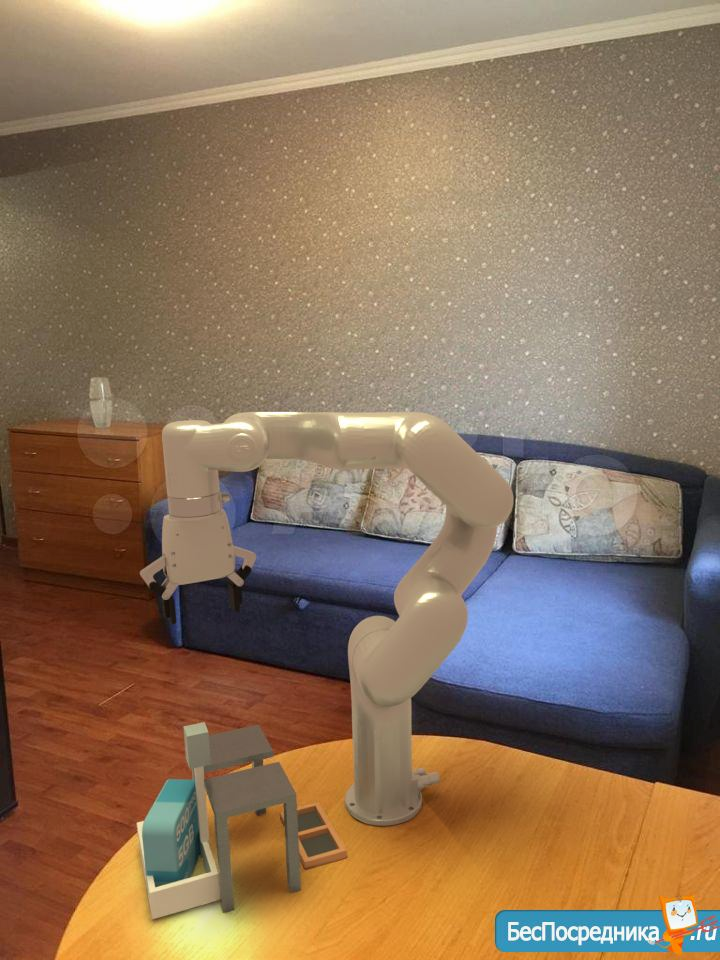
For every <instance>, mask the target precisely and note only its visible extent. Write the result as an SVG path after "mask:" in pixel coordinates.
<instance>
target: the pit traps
mask: <svg viewBox="0 0 720 960" xmlns="http://www.w3.org/2000/svg"><path fill="white" fill-rule="evenodd" d="M297 818H298V839H299V859H300V863H301V865H302V866H303V868H304V870H308V869H312V868H315V867H319V866H323V865H325V864H326V865H327V864H330V863H333V862H336V861H339V860H343V859H346V858H348V854H347V853H348V852H347V848H346V846H345V845H344V843H343V841H342V839H341V838H340V836H339V834H338V833H337V831H336V829H335V828H334V826H333V823H331V821H330V819H329V817H328V816H327V814H326V812H325V811H324V809H323V807H322V805H321V804H320V802H319V801H316V802H312V803H308V804H304V805H301V806H297ZM279 819H280V821H281V824H282V825H283V827H284V828H285V826H284V810H281V811H279Z"/></svg>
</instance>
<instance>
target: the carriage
mask: <svg viewBox="0 0 720 960" xmlns="http://www.w3.org/2000/svg"><path fill="white" fill-rule="evenodd" d="M209 733H210V732H209V730H208V727H207V725H206V722H205V721H204V722H203V721H202V722H199V723H195V724H190V725H184V726H183V739H184V740H183V741H184V750H185V751H184V752H185V760H186V763H187V766H188V768H189V770H192V769H193V768H194V775H195V788H196V801H197V814H198V827H199V843H200V857H201V861H202V865H203V868H204V871H205V873H202V874H199V875H195V876H191V878H187V879H184V880H180V881H177V882H173V883H169V884H166V885H162V886H159V887H155V884H154V879H153V876H147V875H146V871H145V860H144V849H143V839H142V828H143V823H144V820H141V821H138V822H136V829H137V841H138V849H139V853H140V861H141V864H142V870H143V876H144V882H145V886H146V889H147V886H148V892H147V891H146V892H147V898H148V905H149V908H150V914H151V920H155V919H159V918H162V917H165V916H168V915H172V914H176V913H179V912H183V911H186V910H189V909H192V908H195V907H199V906H202V905H206V904H209V903H213V902H217V901H220V888H219V875H218V867H217V866H216V862H215V860H214V856H213V852H212V850H211V849H212V848H211V847H210V844H209V841H210V835H209V834H210V833H209V822H208V818H209V817H208V808H207V806H208V805H207V793H206V790H205V787H204V779H206V778H205V773H204V766H206V765H210V764H211V759H210V746H209V735H210V734H209ZM146 876H147V881H146Z"/></svg>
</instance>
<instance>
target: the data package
mask: <svg viewBox="0 0 720 960" xmlns="http://www.w3.org/2000/svg"><path fill="white" fill-rule="evenodd" d="M143 821H144V823H143V828H142V839H143V849H144V860H145V871H146V875H147V876H153V879H154V884H155V887H159V886H162V885H166V884H169V883H173V882H177V881H180V880H184V879H187V878H191V877H192V875H193V873H194V870H195V868H196V865H197V864H198V861H199V859H200V857H201V855H200V843H199V827H198V814H197V801H196V788H195V780H193V779H189V778H188V779H186V778H185V779H183V778H181V779H180V778H169V779H167V780H166V781H165V782H164V784H163V786H162V788H161V790H160V791H159V793H158V795H157V797H156V799H155V801H154V802H153V804H152V806H151V807H150V810H149V811H148V813H147V815H146V817H145V818H144V820H143ZM147 876H146V881H147ZM146 892H148V886H147V888H146Z"/></svg>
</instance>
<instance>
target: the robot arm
mask: <svg viewBox="0 0 720 960" xmlns="http://www.w3.org/2000/svg"><path fill="white" fill-rule="evenodd" d="M161 431H162V432H161V442H162V452H163V464H164V474H165V484H166V494H167V505H168V506H167V507H168V514H166V515H164V516H163V519H162V532H161V533H162V534H161V536H162V537H161V552H162V554H161V556H160V557H159V558H158V559H155V560H154V561H153V562H151V563H150V564H149V565H147V566H145V567H144V568H143V569H141V570H140V571H139V575H140V577H141V578H142V580H143V581H144V582H145V583H146V585H147V586H148V588H149V590H150V591H152V592H153V593H155V594H156V595H157V596H159V597H161V602H162V603H161V605H162V615H163V617H164V619H167V620H168V621H169V624H170V625H172V626H173V625H176V624H177V613H176V604H175V603H176V601H175V598H174V597H173V596H172V595H173V594H174V592H175V591H176V589H178V588H177V587H178V586H180V585H181V586H182V585H187V584H193V583H194V584H195V583H200V582H201V583H202V582H207V581H211V580H217V579H223V578H226V577H227V578H228V579H229V580H230V581H229V583H228V584H227V585H228V598H229V599H228V600H229V606H230V608H231V609H232V610H233V611H234V612H236V613H238V612H241V607H240V605H242V604H243V593H242V586H243V585H244V583H245V581H246V579H247V578H248V577H249V576H250V574H251V573H252V570H253V566H254V564H255V562H256V560H257V554H256V553H255V552H253V551H251V550H248V549H244V548H242V547H239V546H236V545H233V538H232V533H231V526H230V524H229V519H228V516H227V512H226V510H225V509H224V508H223V506H224V504H225V503H229V502H230V500H231V498H230V497H231V496H230V493H228V492H226V493H224V492H222V491H220V490H221V489H220V478H219V471H225V472H235V473H236V472H237V473H238V472H239V473H246V472H250V471H253V470H256V469H257V468H259V467H260V466H262V465H263V463H265V461H266V460H296V461H297V460H298V461H305V462H310V463H314V464H317V465H320V466H322V467H325V468H329V469H335V470H341V471H344V470H345V471H346V470H347V471H349V470H375V469H376V470H381V469H382V470H383V469H386V470H397V469H407V470H408V471H409V472H411V473H412V474H413V475H414V476H415V477H416V478H417V480H419V481H420V483H422V484H423V486H425V487H426V488H427V489H428V490H429V491H430V492H431V493H432V494H433V495H434V496H435V497H436V498H438V500H440V501H441V502H442V503H443V504H444V505H445V517H444V521H443V523H442V527H441V529H440V531H439V532H438V534H437V535H436V537H435V538H434V540H433V541H432V542H431V543H430V545H429V546H428V548H427V549H426V550H425V552H423V553H422V555H421V556H420V558H419V559H418V560H417V561H416V562H415V563H414V565H413V566H412V567H411V568H410V569H409V571H408V572H407V573H405V575H404V576H403V577H402V579H401V580H400V581H399V582H398V584H397V586H396V587H395V591H394V595H393V602H394V607H395V610H396V612H397V614H398V616H399V617H398V618H397V620H396V621H395V620H394V619H392V618H390V617H387V616H384V615H372V616H368V617H366V618H365V619H362V620H361V621H360V622H359V623H358V624H356V626H355V627H354V628H353V630H352V632H351V634H350V636H349V640H348V645H347V657H348V658H347V659H348V670H349V681H350V696H351V699H350V700H351V722H352V723H351V725H352V726H351V727H352V754H353V755H352V756H353V758H352V759H353V761H352V762H353V784H352V785H351V786H349V788H348V789H347V790H346V792H345V795H344V798H345V799H344V803H345V808H346V810H347V812H348V813H349V815H351V816H352V817H353V818H354V819H356V820H357V821H360V822H362V823H365V824H367V825H373V826H381V827H382V826H384V827H385V826H394V825H395V826H396V825H399V824H401V823H405V822H408V821H409V820H411V819H413V817H415V816H417V814H418V813H419V812H420V810H421V808H422V804H423V796H422V795H423V794H422V793H421V791H423V789H424V788H425V787H431V786H434V785H438V784H440V781H441V779H440V775H439V773H438V772H437V771H433V772H428V773H427V772H426V769H425V768H424V767H419V768H415V769H413V757H412V756H413V753H412V752H413V751H412V750H413V749H412V740H413V739H412V697H414V696H415V695H416V694H417V693H418V692H419V691H420V690H421V689H422V687H423V686H424V685H425V684H426V683H427V682H428V680H429V679H430V678H431V677H432V676H433V675H434V674H435V672H436V671H437V670H438V669H439V667H440V666H441V665H442V664H443V663H444V662H445V661H446V659H447V658H448V657H449V656H450V654H452V652H453V651H454V649H456V647H457V646H458V645H459V643H460V641H461V640H462V639H463V636H464V633H465V632H466V628H467V625H468V618H469V617H468V613H469V612H468V607H467V605H466V603H465V600H464V598H463V596H462V595H463V594H464V593H465V591H466V590H467V589H468V588H469V586H470V585H471V584H472V582H473V581H474V579H475V578H476V577H477V575H478V574H479V573H480V571H481V570H482V569H483V567H484V566H485V565H486V563H487V561H488V560H489V558H490V555H491V554H492V551H493V549H494V546H495V542H496V538H497V532H498V531H497V530H498V526H501V525H502V524H503V523H504V522H505V521H507V519H508V518H509V516H510V515H511V513H512V511H513V508H514V494H513V490H512V487H511V484H509V482H508V480H506V478H504V477H503V475H502V474H501V473H500V472H499V471H497V470H496V469H495V468H494V467H493V466H492V465H491V464H490V463H488V461H487V460H485V458H483V457H482V456H481V454H479V453H478V452H477V451H476V450H475V449H473V448H472V446H471V445H469V444H468V443H467V442H466V441H465V440H464V439H463V438H462V437H461V436H460V435H459V434H458V433H457V432H456V431H455V430H454V429H453V428H452V427H451V425H448V423H446V422H445V421H443V420H442V419H440V418H438V417H436V416H434V415H432V414H430V413H427V412H421V411H378V412H377V411H376V412H375V411H373V412H372V411H371V412H367V411H365V412H364V411H363V412H362V411H361V412H359V411H357V412H356V411H355V412H350V411H349V412H348V411H347V412H345V411H344V412H343V411H342V412H340V411H339V412H337V411H335V412H334V411H321V412H320V411H319V412H316V411H315V412H309V411H307V412H305V411H302V412H301V411H245V412H239V413H235V414H232V415H230V416H229V417H228V418H226V419H225V420H224V421H223V422H222V423H213V424H212V423H211V422H209V421H207V420H204V419H203V420H201V419H198V420H197V419H188V420H179V421H173V422H170V423H167V424H166V425H164V427H163V428H162V430H161ZM235 557H238V558H241V559H243V564H242V565H240V567H239V568H238V569H237V571H236V572H235V570H236V558H235ZM161 570H163V575H164V577H166V578H165V579H164V581H163V582H162V584H160V583H159V582H158V581H157V580H155V579H154V576H155V574H157V573H158V572H160V571H161Z"/></svg>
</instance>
